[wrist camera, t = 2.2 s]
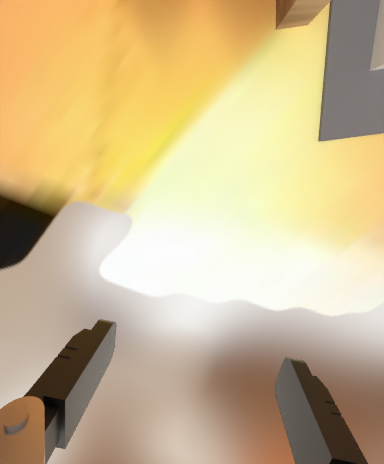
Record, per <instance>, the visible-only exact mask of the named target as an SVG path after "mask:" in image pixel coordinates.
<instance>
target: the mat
mask: <svg viewBox="0 0 384 464" xmlns="http://www.w3.org/2000/svg"><path fill="white" fill-rule="evenodd" d="M379 5H380V0H331V1H330V12H329V24H328V35H327V47H326V59H325V71H324V83H323V95H322V106H321V118H320V130H319V141H327V140H335V139H342V138H350V137H358V136H365V135H373V134H381V133H384V69H378V70H371V71H370V66H371V59H372V52H373V46H374V39H375V32H376V25H377V19H378V12H379Z"/></svg>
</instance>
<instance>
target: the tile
mask: <svg viewBox="0 0 384 464" xmlns="http://www.w3.org/2000/svg"><path fill="white" fill-rule="evenodd" d="M378 69H384V0H380V5H379V12H378V19H377V25H376V32H375V39H374V46H373V52H372V59H371V66H370V71H371V70H378Z"/></svg>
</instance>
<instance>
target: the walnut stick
mask: <svg viewBox="0 0 384 464" xmlns="http://www.w3.org/2000/svg"><path fill="white" fill-rule="evenodd" d="M330 1H331V0H276V30H278V29H284V28H291V27H297V26H304V25H308V24H309V23H310V22H311V21H312V20H313V19H314V18H315V17H316V16H317V15H318V13H319V12H320V11H321V10H322V9H323V8H324V7H325V6H326V5H327V4H328V3H329V2H330Z"/></svg>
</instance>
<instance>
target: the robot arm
mask: <svg viewBox="0 0 384 464" xmlns="http://www.w3.org/2000/svg"><path fill="white" fill-rule="evenodd" d="M115 335H116V322H111V321H107V320H101V319H100V320H98V322H97V323H96V324H95V326H94V327H93V328H92V330H88V329H84V330H82V331H81V332H79V333H78V334H76V335H74V336H73V337H72V338H71V340H70V341H69V342H68V343H67V345H66V346H65V348H64V349H63V350H62V351H61V352H60V354H58V357H56V358H55V359H54V360H53V362H52V363H51V364H50V365H49V367H48V368H47V369H46V370H45V372H44V373H43V374H42V375H41V376H40V378H39V379H38V380H37V381H36V383H35V384H34V385H33V386H32V387H31V389H30V390H29V391H28V392H27V393H26V395H24V397H22V398H19V399H16V400H14V401H12V402H10V403H8V404H7V405H6V406H4V407H3V408H1V409H0V464H47V462H48V460H49V458H50V456H51V455H52V452H53V451H54V449H55V447H58V448H62V449H65V448H66V446H67V444H68V442H69V441H70V439H71V437H72V435H73V433H74V431H75V429H76V427H77V425H78V423H79V421H80V419H81V417H82V415H83V414H84V412H85V409H86V408H87V406H88V404H89V402H90V400H91V398H92V396H93V394H94V392H95V390H96V388H97V386H98V384H99V382H100V381H101V379H102V377H103V375H104V373H105V371H106V369H107V367H108V365H109V363H110V361H111V358H112V355H113V352H114V346H115ZM275 395H276V399H277V403H278V406H279V410H280V413H281V416H282V420H283V423H284V426H285V429H286V433H287V437H288V440H289V443H290V447H291V450H292V454H293V457H294V460H295V464H368V463H367V461H366V459H365V457H364V456H363V454H362V452H361V450H360V448H359V446H358V444H357V443H356V441H355V439H354V437H353V435H352V433H351V432H350V430H349V428H348V426H347V424H346V422H345V420H344V419H343V417H341V413H340V412H339V409H338V408H337V406H336V405H335V402H334V400H333V399H332V397H331V395H330V393H329V391H328V389H327V388H326V387H325V386H324V385H323V383H322V382H321V381H320V380H319V379H318V378H317V377H316V376H312V374H311V372H310V370H309V368H308V366H307V364H306V363H305V362H304V361H302V360H297V359H292V358H285V359H284V361H283V364H282V366H281V369H280V372H279V374H278V377H277V380H276V383H275Z"/></svg>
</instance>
